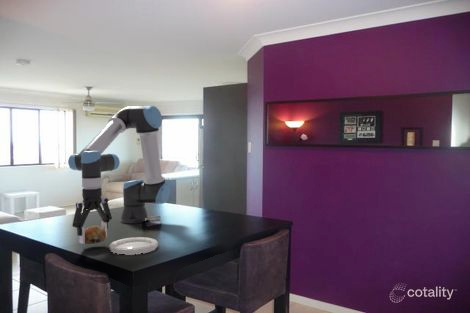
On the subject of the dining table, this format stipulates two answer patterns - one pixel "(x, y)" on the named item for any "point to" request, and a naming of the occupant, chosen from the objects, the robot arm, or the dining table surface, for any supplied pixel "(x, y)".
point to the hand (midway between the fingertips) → (93, 239)
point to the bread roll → (94, 235)
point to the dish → (133, 245)
